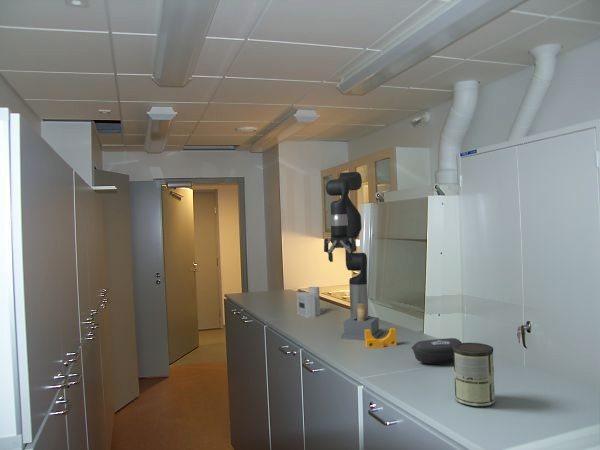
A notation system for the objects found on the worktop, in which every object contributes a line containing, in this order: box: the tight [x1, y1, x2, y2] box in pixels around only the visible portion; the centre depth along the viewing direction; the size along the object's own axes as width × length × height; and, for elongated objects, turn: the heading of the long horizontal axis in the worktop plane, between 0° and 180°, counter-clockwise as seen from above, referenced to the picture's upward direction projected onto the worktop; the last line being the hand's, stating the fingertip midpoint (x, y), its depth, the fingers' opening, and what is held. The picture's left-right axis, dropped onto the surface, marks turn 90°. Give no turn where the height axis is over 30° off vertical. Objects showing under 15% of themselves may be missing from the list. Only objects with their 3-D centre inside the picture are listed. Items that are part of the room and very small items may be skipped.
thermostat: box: [296, 286, 327, 319], centre depth 260 cm, size 12×14×15 cm
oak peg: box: [357, 303, 367, 321], centre depth 209 cm, size 4×4×12 cm
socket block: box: [340, 316, 383, 341], centre depth 209 cm, size 15×14×7 cm
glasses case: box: [411, 337, 462, 365], centre depth 166 cm, size 18×10×8 cm, turn 103°
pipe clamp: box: [364, 327, 398, 349], centre depth 190 cm, size 12×4×6 cm, turn 94°
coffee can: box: [453, 342, 496, 407], centre depth 130 cm, size 10×10×14 cm
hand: (340, 261), depth 212 cm, fingers open, 8 cm apart
